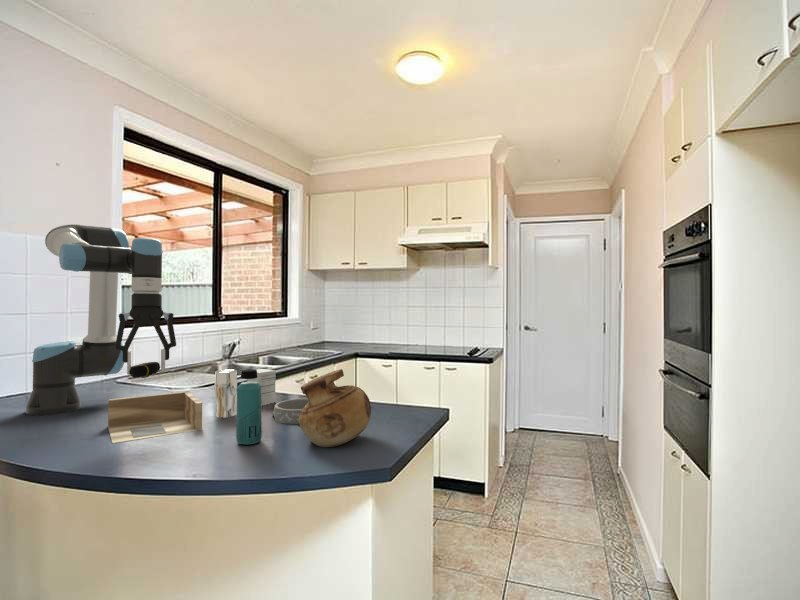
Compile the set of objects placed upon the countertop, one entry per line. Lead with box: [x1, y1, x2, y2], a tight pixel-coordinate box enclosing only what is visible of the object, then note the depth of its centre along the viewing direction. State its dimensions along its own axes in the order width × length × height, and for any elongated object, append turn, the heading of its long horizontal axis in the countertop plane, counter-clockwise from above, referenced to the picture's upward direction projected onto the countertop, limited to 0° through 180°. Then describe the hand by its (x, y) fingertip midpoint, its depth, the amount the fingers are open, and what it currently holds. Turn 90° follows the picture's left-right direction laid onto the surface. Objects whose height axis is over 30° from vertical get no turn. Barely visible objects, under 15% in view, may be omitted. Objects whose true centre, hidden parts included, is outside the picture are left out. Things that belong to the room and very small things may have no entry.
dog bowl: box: [272, 397, 309, 425], centre depth 145 cm, size 17×18×5 cm
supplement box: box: [246, 368, 277, 407], centre depth 164 cm, size 7×7×13 cm
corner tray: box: [107, 390, 203, 444], centre depth 132 cm, size 20×22×8 cm
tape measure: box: [129, 361, 161, 379], centre depth 126 cm, size 7×7×4 cm
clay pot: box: [299, 369, 372, 448], centre depth 119 cm, size 19×19×20 cm
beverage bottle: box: [235, 368, 263, 445], centre depth 118 cm, size 6×7×20 cm
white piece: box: [214, 369, 238, 418], centre depth 147 cm, size 7×7×15 cm
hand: (146, 372), depth 129 cm, fingers closed on tape measure, 8 cm apart
